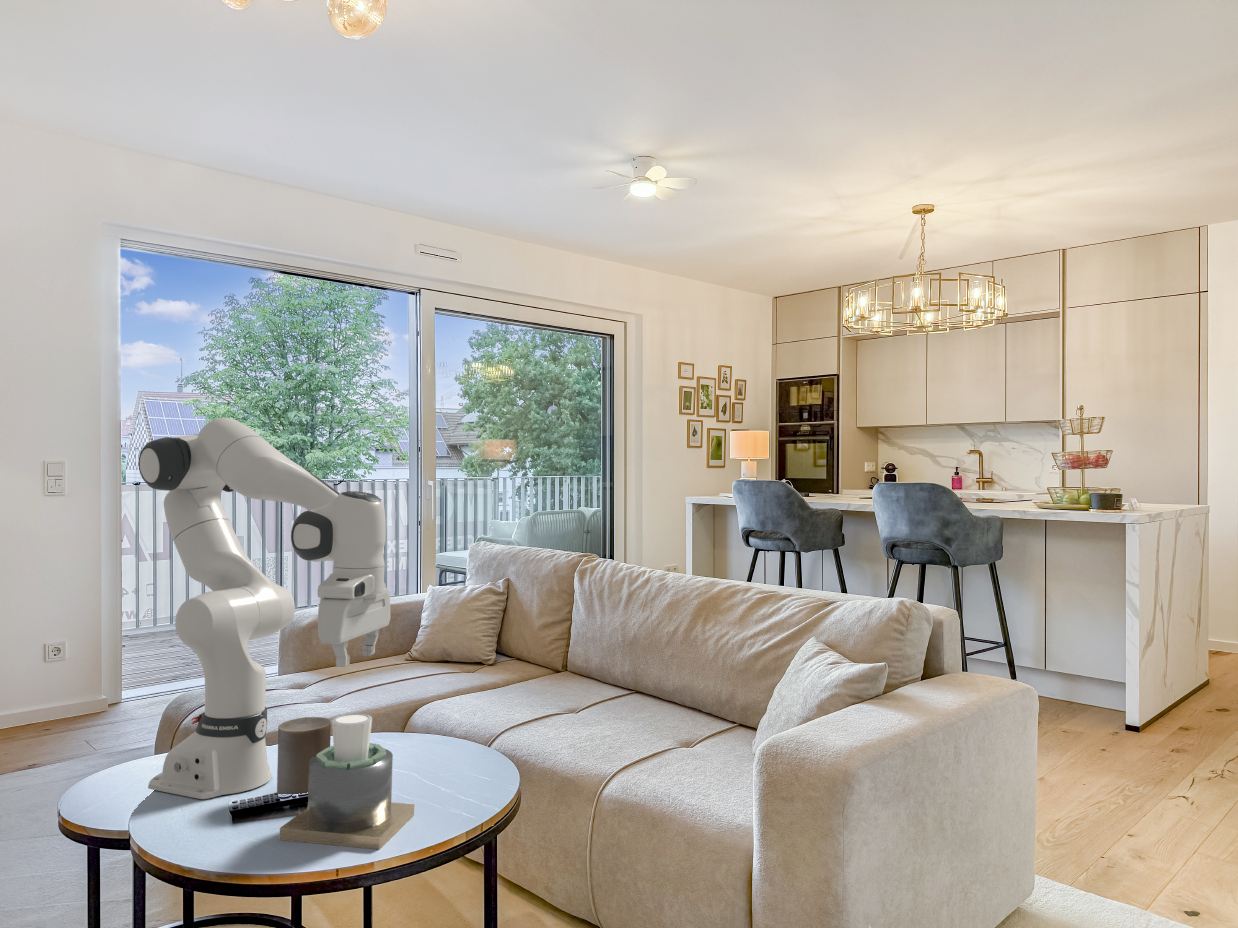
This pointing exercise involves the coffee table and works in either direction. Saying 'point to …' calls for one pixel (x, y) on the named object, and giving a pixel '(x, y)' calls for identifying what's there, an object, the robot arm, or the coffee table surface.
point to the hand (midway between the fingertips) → (356, 660)
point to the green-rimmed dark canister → (349, 802)
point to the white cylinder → (351, 737)
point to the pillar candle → (299, 751)
